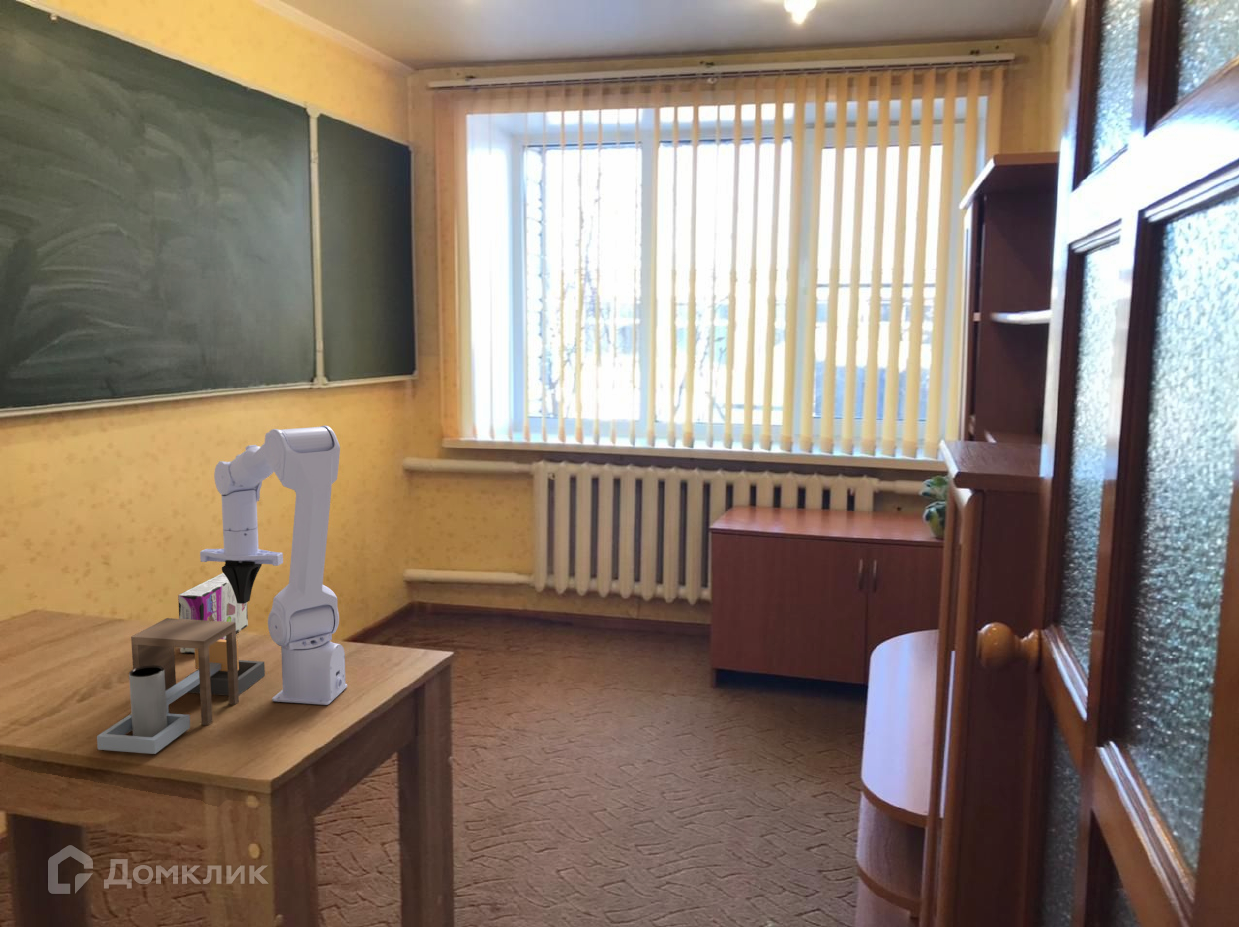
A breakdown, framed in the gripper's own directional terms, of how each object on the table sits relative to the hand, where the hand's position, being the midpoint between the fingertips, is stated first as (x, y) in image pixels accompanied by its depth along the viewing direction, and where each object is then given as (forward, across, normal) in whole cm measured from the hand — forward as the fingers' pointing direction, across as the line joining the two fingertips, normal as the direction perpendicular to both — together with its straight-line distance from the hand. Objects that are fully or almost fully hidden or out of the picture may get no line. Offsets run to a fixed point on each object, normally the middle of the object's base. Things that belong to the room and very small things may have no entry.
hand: (243, 601), depth 167 cm
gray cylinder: (+11, -3, +33) cm, 35 cm away
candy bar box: (+5, +10, 0) cm, 12 cm away
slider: (+10, -3, +26) cm, 28 cm away
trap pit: (+10, -3, +12) cm, 16 cm away
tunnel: (+10, -3, +23) cm, 25 cm away
